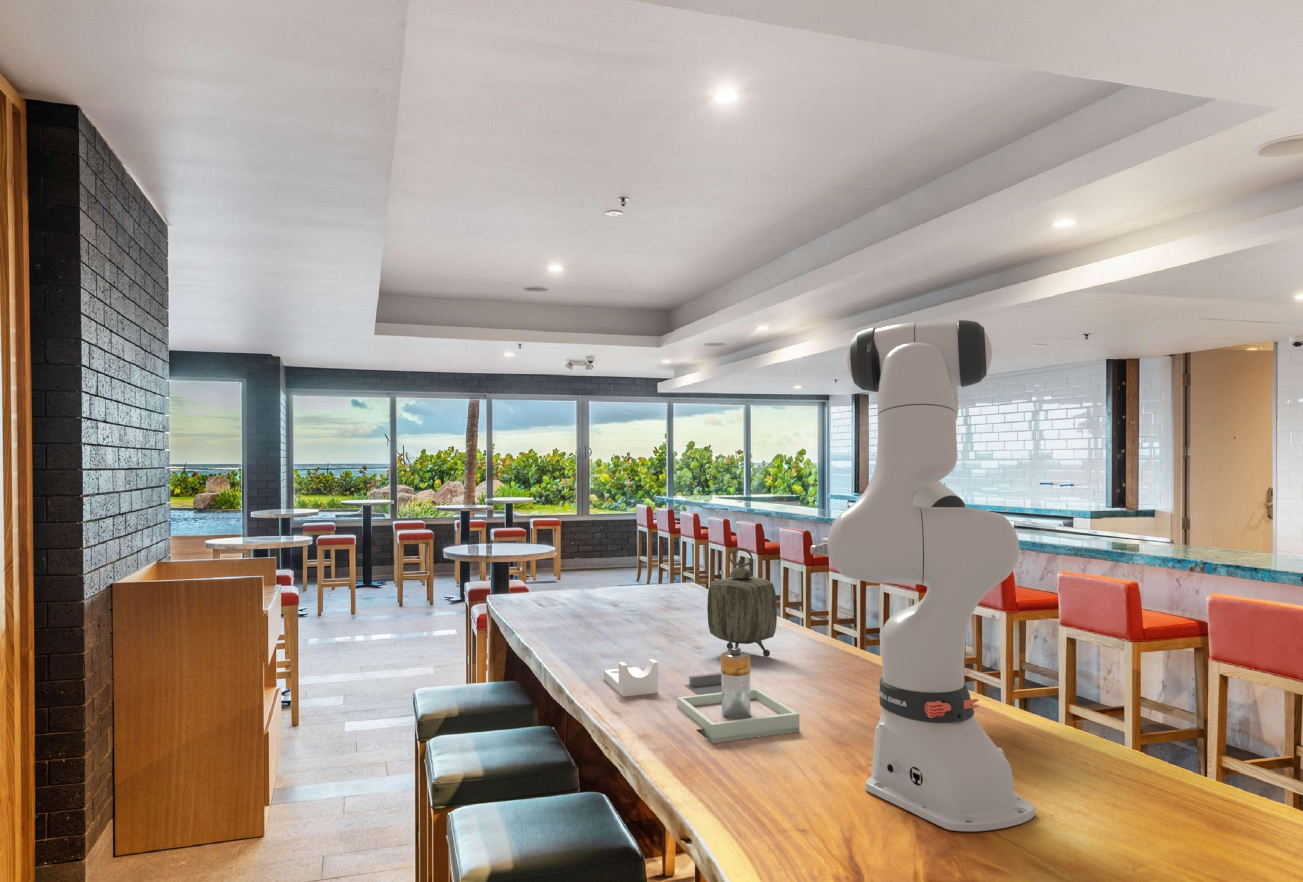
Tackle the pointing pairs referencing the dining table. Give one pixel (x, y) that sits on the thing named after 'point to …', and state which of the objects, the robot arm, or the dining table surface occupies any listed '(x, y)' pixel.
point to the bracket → (633, 679)
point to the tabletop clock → (742, 607)
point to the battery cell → (735, 684)
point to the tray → (743, 727)
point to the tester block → (705, 683)
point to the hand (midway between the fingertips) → (824, 553)
